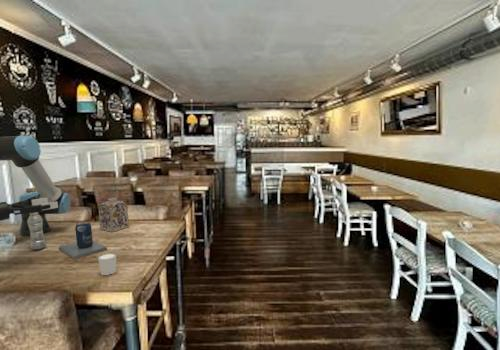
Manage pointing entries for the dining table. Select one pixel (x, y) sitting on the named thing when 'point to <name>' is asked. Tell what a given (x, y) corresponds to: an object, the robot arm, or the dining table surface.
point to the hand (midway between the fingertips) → (52, 202)
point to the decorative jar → (113, 215)
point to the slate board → (81, 250)
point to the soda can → (84, 234)
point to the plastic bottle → (36, 231)
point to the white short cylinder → (107, 264)
